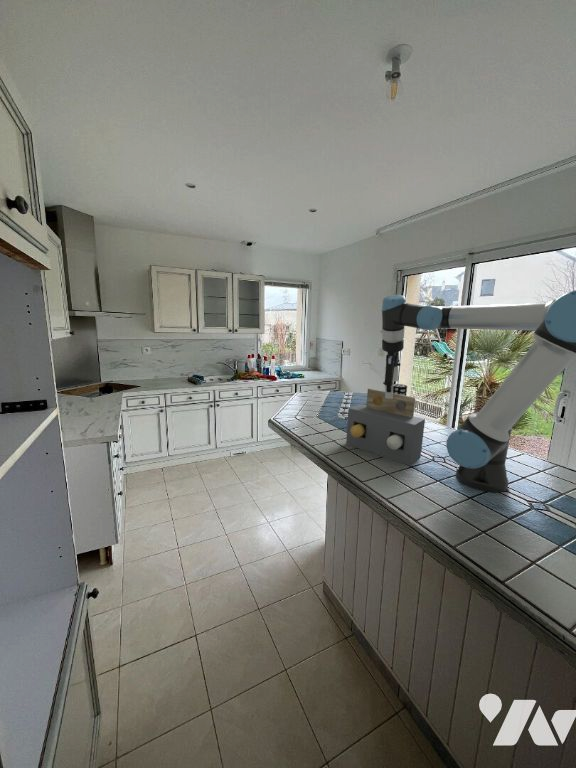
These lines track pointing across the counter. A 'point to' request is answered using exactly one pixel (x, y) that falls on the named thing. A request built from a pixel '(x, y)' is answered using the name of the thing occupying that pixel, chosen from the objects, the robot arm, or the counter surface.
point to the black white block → (400, 389)
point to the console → (386, 433)
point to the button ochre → (358, 430)
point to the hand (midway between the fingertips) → (391, 389)
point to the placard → (391, 403)
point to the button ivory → (395, 441)
